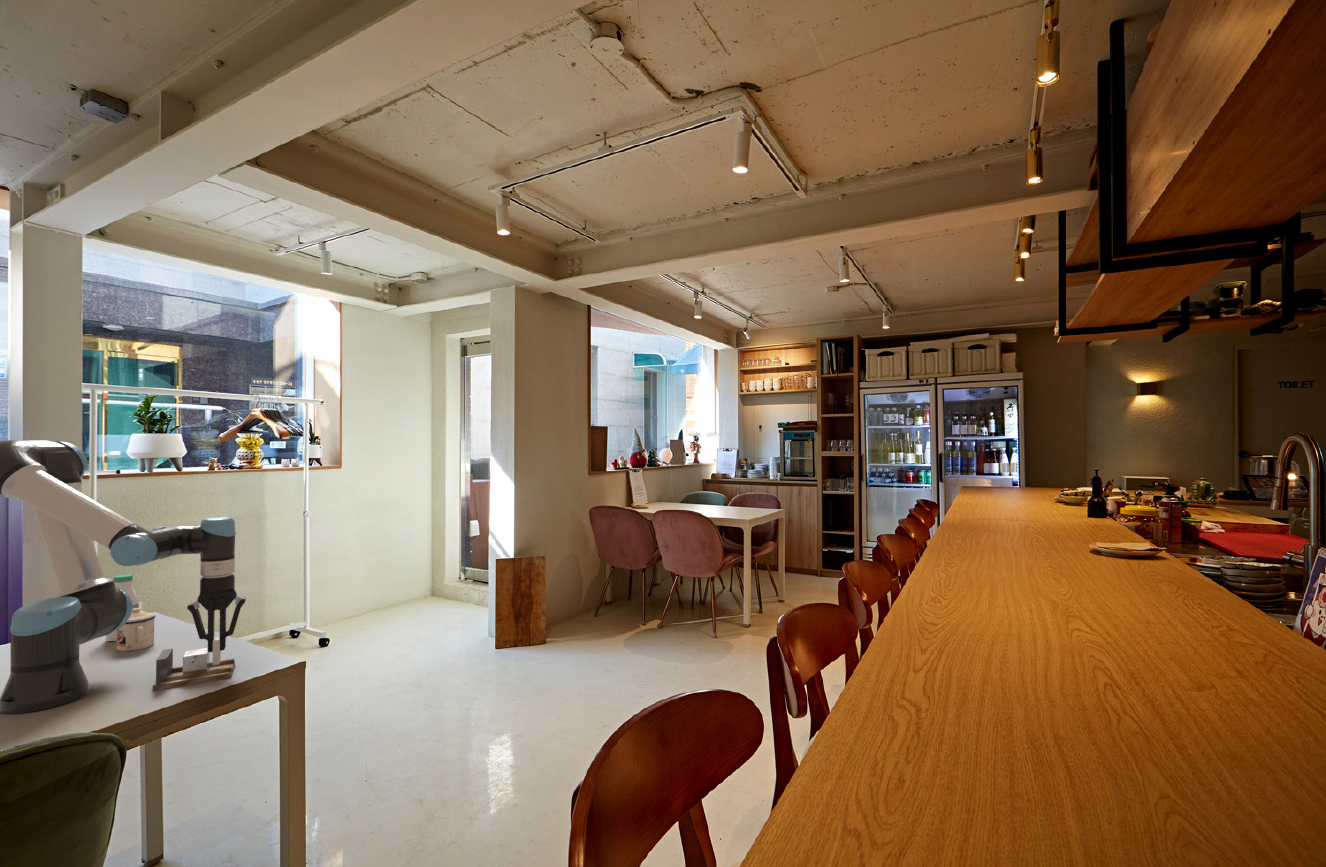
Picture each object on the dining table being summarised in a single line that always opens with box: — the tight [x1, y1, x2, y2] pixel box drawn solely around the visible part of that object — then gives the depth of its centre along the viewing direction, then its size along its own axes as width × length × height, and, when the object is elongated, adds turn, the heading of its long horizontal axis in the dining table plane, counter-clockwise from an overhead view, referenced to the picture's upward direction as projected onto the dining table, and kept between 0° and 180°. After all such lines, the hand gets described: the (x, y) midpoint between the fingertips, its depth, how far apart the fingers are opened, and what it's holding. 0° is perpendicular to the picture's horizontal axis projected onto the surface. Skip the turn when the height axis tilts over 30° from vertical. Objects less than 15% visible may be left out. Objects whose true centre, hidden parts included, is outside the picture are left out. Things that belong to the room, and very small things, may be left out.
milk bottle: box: [105, 574, 140, 642], centre depth 192 cm, size 8×8×20 cm
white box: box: [182, 647, 210, 674], centre depth 158 cm, size 5×9×5 cm, turn 31°
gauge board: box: [151, 648, 236, 691], centre depth 160 cm, size 16×11×7 cm
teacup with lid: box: [116, 607, 156, 652], centre depth 183 cm, size 12×9×12 cm
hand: (216, 662), depth 162 cm, fingers closed
